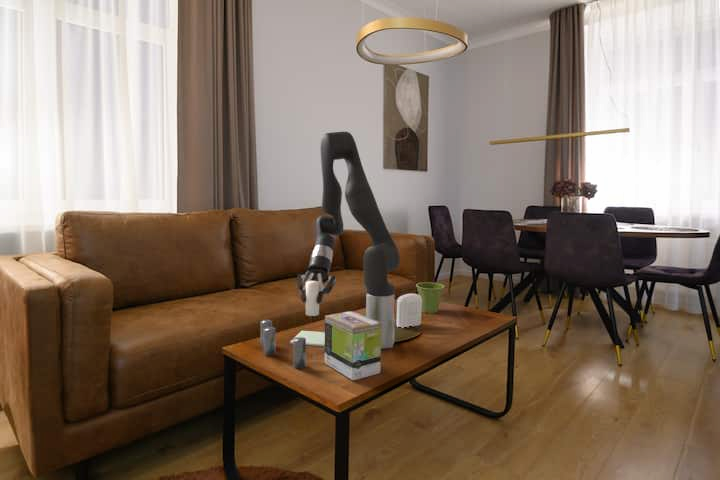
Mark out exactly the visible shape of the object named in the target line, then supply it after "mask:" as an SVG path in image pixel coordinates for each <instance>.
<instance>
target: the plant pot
mask: <svg viewBox="0 0 720 480" xmlns="http://www.w3.org/2000/svg"><path fill="white" fill-rule="evenodd" d="M415 286H416V288H417V292H418V295H420V296H421V298H422V310H421V313H424V314H425V313H427V314H436V313H438V312H439V308H440V303H441V297H442V293H443V291H444V288H445V285H443V283H438V282H418V283H417V284H415Z"/></svg>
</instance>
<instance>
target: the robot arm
mask: <svg viewBox="0 0 720 480" xmlns="http://www.w3.org/2000/svg"><path fill="white" fill-rule="evenodd" d="M359 153H360V152H359V150H358V147H357V144H356V140H355V139H354V137H353V135H352V133H351V132H348V131H336V132H335V131H334V132H333V131H332V132H327V133H324V134H323V135H322V137H321V139H320V164H321V175H322V198H321V210H322V211H323V213H325V214H327V215H325V214H324V215H319V216H318V217H317V219H316V221H315V231H316V238H315V243H314V247H313V250H312V253H311V256H310V260H309V264H308V267H307V271H306V272H305V274H301V273H298V274H297V275H296V276H297V277H296V278H297V287H298V290H299V292H300V293H301V296H300V300H301V302H302V303H303V304H306V282H307V281H318V282H319V293H318V297H317V304H319V305H320V304H321V303H322V302H323V300H324V295H325V294H327V295H328V294H331V291H332V290H333V288H334V286H335V284H336V283H337V280H336V279H337V278H336V277H335V275H332V276H331V275H330V269H331V265H332V262H333V256H334V249H335V244H336V239H335V238H334V237H333V236H335V237H337V236H340V235H342V233H343V231H344V221H343V218H342V217H343V215H342V209H341V208H342V207H341V206H342V199H343V198H342V196H343V191H342V187H341V184H340V182H339V180H338V179H337V176H336V174H335V172H334V171H335V170H334V163H335V161H336V160H344V161H345V164H346V166H347V171H348V172H347V174H348V175H347V181H346V185H345V189H344V197H345V202H346V203H347V206H348V210H349V211H350V213H351V215H352V217H353V218H354V220H355V221H356V223H358V224H359V225H360V226H361V227H362V228H363V229H364V231H366V232H367V235H368V236H369V238H370V240H371V242H372V245H371V246H369V247H367V249H365V252H364V255H363V262H362V263H363V283H364V286H365V290H366V291H365V293H366V294H365V296H366V297H365V298H366V299H365V300H366V301H365V303H366V304H365V305H366V306H365V312H366V313H365V316H366V317H368V318H371V319H373V320H376V321H379V322H381V350H383V349H393V347H394V344H395V326H396V323H395V321H396V315H395V294H396V293H395V292H396V289H395V285H394V284H393V283H392V282H389V281H388V273H389V272H392V271H395V270H396V269H397V268H398V267H399V266H400V261H401V256H400V251H399V249H398V248H397V245H396V243H395V241H394V240H393V237H392V236H391V233H390V232H389V230H388V228H387V225H386V224H385V221H384V219H383V216H382V214H381V211H380V208H379V206H378V203H377V201H376V198H375V196H374V193H373V190H372V188H371V186H370V184H369V181H368V177H367V175H366V173H365V170H364V168H363V165H362V162H361V158H360V154H359ZM305 279H306V281H305ZM304 281H305V283H304V286H303V282H304ZM326 282H327V284H326V286H324V284H325V283H326Z"/></svg>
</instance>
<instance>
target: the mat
mask: <svg viewBox="0 0 720 480" xmlns="http://www.w3.org/2000/svg"><path fill="white" fill-rule="evenodd" d="M297 337H303V338H305V339H306V346H315V347H325V331H324V332H323V331H312V330H300V331H299V333H297V334H296V336H294V338H297ZM294 338H292V340H290V341H289V344H290V345H293V339H294Z"/></svg>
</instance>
